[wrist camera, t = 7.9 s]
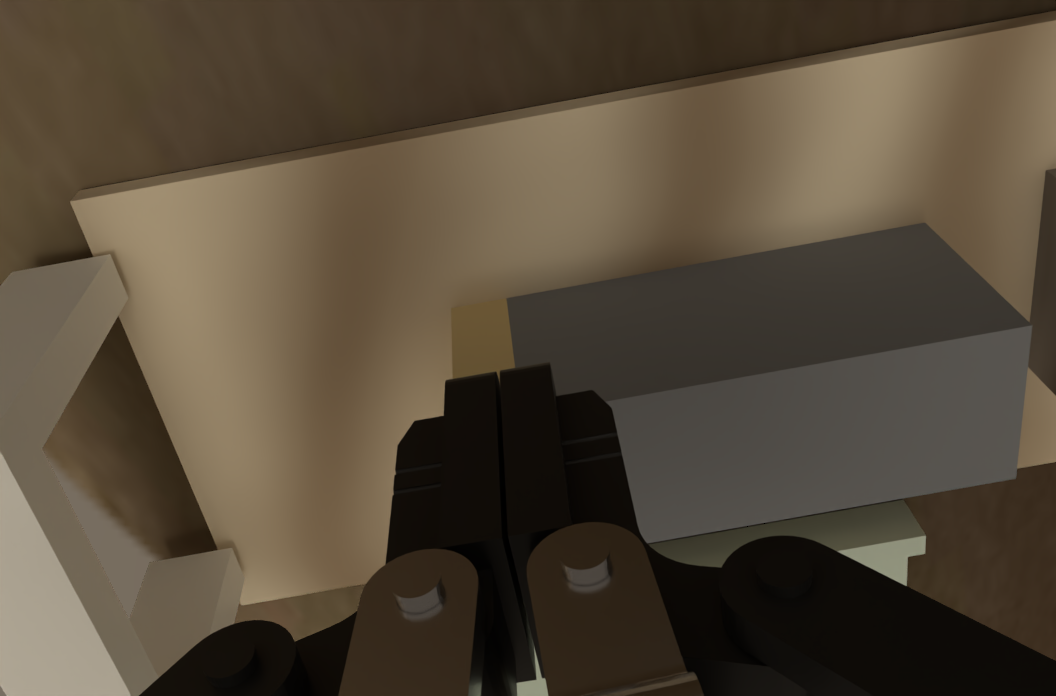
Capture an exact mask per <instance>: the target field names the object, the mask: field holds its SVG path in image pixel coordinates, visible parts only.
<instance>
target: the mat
mask: <svg viewBox="0 0 1056 696" xmlns="http://www.w3.org/2000/svg"><path fill="white" fill-rule="evenodd" d="M780 535H784V536H797V537H803V538H807V539H811V540H814V541H816V542H819V543H821V544H823V545H825V546H827V547H829V548H831V549H833V550H835V551H837V552H839V553H841V554H843V555H845V556H847V557H849V558H851V559H853V560H855V561H857V562H859V563H861V564H863V565H865V566H867V567H869V568H871V569H873V570H875V571H877V572H879V573H881V574H883V575H885V576H887V577H889V578H891V579H893V580H895V581H897V582H899V583H901V584H903V585H905V586H907V563H908V557H909V556H915V555H921V554H925V544H926V535H925V533H924V532H923V530H922V528H921V527H920V525H919V524H918V522H917V520H916V519H915V517H914V516H913V514H912V512H911V511H910V509H909V508H908V506H907V504H906V503H905V501H904V500H898V501H892V502H887V503H881V504H875V505H870V506H864V507H858V508H853V509H847V510H841V511H836V512H830V513H824V514H819V515H813V516H807V517H802V518H796V519H790V520H785V521H779V522H773V523H768V524H762V525H756V526H751V527H745V528H739V529H734V530H728V531H722V532H717V533H711V534H705V535H699V536H694V537H688V538H682V539H677V540H671V541H665V542H660V543H654V544H648V545H649V546H650V547H651V548H653V549H654V550H655V551H657V552H658V553H660V554H661V555H663V556H665V557H667V558H669V559H672V560H675V561H677V562H681V563H685V564H690V565H697V566H708V567H721V568H722V565H723V564H724V562H725V561H726V559H727V558H728V557H729V556H730V555H731V554H732V553H733V552H734V551H735V550H736V549H738V548H739V547H741V546H742V545H744V544H746V543H748V542H751V541H754V540H757V539H759V538H764V537H769V536H780ZM534 651H535V647H534ZM535 664H536V678H537V680H532V681H526V682H520V683H517V696H548V691H547V685H546V680H545V678H542V677H541V672H540V668H539V664H538V660H537V656H536V652H535Z"/></svg>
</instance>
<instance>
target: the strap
mask: <svg viewBox="0 0 1056 696" xmlns="http://www.w3.org/2000/svg"><path fill="white" fill-rule="evenodd" d="M127 300H128V296H127V293H126V291H125V288H124V286H123V284H122V281H121V279H120V276H119V274H118V272H117V269H116V267H115V264H114V262H113V260H112V257H111V255H110V254H108V255H103V256H97V257H92V258H86V259H81V260H75V261H70V262H64V263H59V264H53V265H48V266H42V267H37V268H32V269H26V270H21V271H15V272H11V274H10V275H9V276H8V277H7V278H6V280H5V281H4V282H3V283H2V285H1V286H0V686H1V688H2V689H3V691H4V692H5V694H6V696H139V695H140V694H141V693H142V692H143V691H144V690H146V689H147V688H148V687H149V686H150V685H151V684H152V683H153V682H155V681H156V680H157V679H158V678H159V677H160V676H161V675H162V674H164V673H165V672H166V671H167V670H168V669H169V668H170V667H171V666H173V665H174V664H175V663H176V662H177V661H178V660H179V659H180V658H182V657H183V656H184V655H185V654H186V653H187V652H188V651H189V650H191V649H192V648H193V647H194V646H195V645H196V644H198V643H199V642H200V641H201V640H203V639H204V638H206V637H207V636H209V635H210V634H212V633H214V632H216V631H218V630H220V629H222V628H224V627H227V626H230V625H232V624H234V622H235V618H236V614H237V610H238V605H239V601H240V597H241V593H242V588H243V584H244V580H245V578H244V575H243V573H242V571H241V568H240V566H239V563H238V561H237V558H236V556H235V554H234V551H233V549H232V548H228V549H222V550H217V551H211V552H205V553H200V554H194V555H188V556H183V557H177V558H171V559H166V560H160V561H155V562H150V563H149V566H148V568H147V571H146V574H145V577H144V579H143V582H142V585H141V588H140V591H139V594H138V596H137V599H136V602H135V605H134V607H133V610H132V613H131V616H130V618H128V616H127V614H126V613H125V611H124V609H123V607H122V605H121V603H120V601H119V599H118V597H117V595H116V593H115V591H114V589H113V587H112V585H111V583H110V582H109V579H108V577H107V575H106V573H105V571H104V569H103V567H102V565H101V563H100V561H99V559H98V557H97V556H96V554H95V552H94V550H93V548H92V546H91V544H90V542H89V540H88V538H87V536H86V534H85V532H84V530H83V528H82V526H81V524H80V522H79V520H78V518H77V516H76V514H75V512H74V510H73V508H72V506H71V504H70V502H69V500H68V499H67V497H66V495H65V493H64V491H63V489H62V487H61V485H60V483H59V481H58V479H57V477H56V475H55V473H54V471H53V469H52V467H51V465H50V463H49V461H48V459H47V457H46V455H45V453H44V451H43V449H42V448H43V446H44V444H45V443H46V441H47V439H48V438H49V436H50V434H51V432H52V431H53V429H54V427H55V425H56V424H57V422H58V420H59V418H60V417H61V415H62V413H63V411H64V410H65V408H66V406H67V404H68V403H69V401H70V399H71V397H72V396H73V394H74V392H75V390H76V389H77V387H78V385H79V383H80V382H81V380H82V378H83V376H84V375H85V373H86V371H87V370H88V368H89V366H90V364H91V363H92V361H93V359H94V357H95V356H96V354H97V352H98V350H99V349H100V347H101V345H102V343H103V342H104V340H105V338H106V336H107V335H108V333H109V331H110V329H111V328H112V326H113V324H114V322H115V321H116V319H117V317H118V315H119V314H120V312H121V310H122V308H123V307H124V305H125V303H126V302H127Z"/></svg>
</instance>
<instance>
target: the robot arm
mask: <svg viewBox="0 0 1056 696" xmlns="http://www.w3.org/2000/svg"><path fill="white" fill-rule="evenodd" d="M395 472H396V475H394V485H393V493H394V495H392V505H391V515H390V524H389V534H388V544H387V554H386V563H385V565H384V566H383V567H381V568H380V569H379V570H378V571H377V572H376V573H375V574H374V575H373V576H372V577H371V578H370V579H369V581H368V582H367V584H366V585H365V587H364V589H363V592H362V595H361V598H360V602H359V607H358V611H356V612H355V613H354V614H353V615H351V616H350V617H348V618H346V619H345V620H343V621H341V622H339V623H337V624H335V625H333V626H331V627H329V628H326V629H324V630H322V631H319V632H317V633H315V634H312V635H310V636H308V637H305V638H303V639H300V640H298V641H296V642H294V639H293V638H292V636H291V634H290V633H289V632H288V631H287V630H286V629H285V628H284V627H282V626H281V625H279V624H276V623H273V622H269V621H263V620H252V621H244V622H240V623H236V624H232V625H230V626H227V627H224V628H222V629H220V630H218V631H216V632H214V633H212V634H210V635H209V636H207V637H206V638H204V639H203V640H201V641H200V642H199V643H198V644H196V645H195V646H194V647H193V648H192V649H191V650H189V651H188V652H187V653H186V654H185V655H184V656H183V657H182V658H180V659H179V660H178V661H177V662H176V663H175V664H174V665H173V666H171V667H170V668H169V669H168V670H167V671H166V672H165V673H164V674H162V675H161V676H160V677H159V678H158V679H157V680H156V681H155V682H153V683H152V684H151V685H150V686H149V687H148V688H147V689H146V690H144V691H143V692H142V693H141V694H140V695H139V696H517V683H520V682H526V681H532V680H537V678H536V664H535V652H536V656H537V660H538V664H539V668H540V672H541V677H542V678H545V680H546V685H547V691H548V696H1056V661H1055V660H1053V659H1051V658H1049V657H1047V656H1045V655H1043V654H1041V653H1039V652H1037V651H1035V650H1033V649H1031V648H1029V647H1027V646H1025V645H1023V644H1021V643H1019V642H1017V641H1015V640H1013V639H1011V638H1009V637H1007V636H1005V635H1003V634H1001V633H999V632H997V631H995V630H993V629H991V628H989V627H987V626H985V625H983V624H981V623H979V622H977V621H975V620H973V619H971V618H969V617H967V616H965V615H963V614H961V613H959V612H957V611H955V610H953V609H951V608H949V607H947V606H945V605H943V604H941V603H939V602H937V601H935V600H933V599H931V598H929V597H927V596H925V595H923V594H921V593H919V592H917V591H915V590H913V589H911V588H909V587H907V586H905V585H903V584H901V583H899V582H897V581H895V580H893V579H891V578H889V577H887V576H885V575H883V574H881V573H879V572H877V571H875V570H873V569H871V568H869V567H867V566H865V565H863V564H861V563H859V562H857V561H855V560H853V559H851V558H849V557H847V556H845V555H843V554H841V553H839V552H837V551H835V550H833V549H831V548H829V547H827V546H825V545H823V544H821V543H819V542H816V541H814V540H811V539H807V538H803V537H797V536H784V535H780V536H769V537H764V538H759V539H757V540H754V541H751V542H748V543H746V544H744V545H742V546H741V547H739V548H738V549H736V550H735V551H734V552H733V553H732V554H731V555H730V556H729V557H728V558H727V559H726V561H725V562H724V564H723V565H722V568H721V567H708V566H697V565H690V564H685V563H681V562H677V561H675V560H672V559H669V558H667V557H665V556H663V555H661V554H660V553H658V552H657V551H655V550H654V549H653V548H651V547H650V546H649V545H648V544H647V542H646V541H645V540H644V539H643V537H642V535H641V534H640V531H639V528H638V524H637V520H636V515H635V511H634V506H633V502H632V497H631V493H630V488H629V483H628V479H627V474H626V470H625V465H624V461H623V456H622V452H621V447H620V443H619V438H618V434H617V429H616V424H615V420H614V415H613V411H612V408H611V407H610V406H609V405H608V404H607V403H606V402H605V401H604V400H603V399H602V398H601V397H600V396H599V395H598V394H596V393H595V392H594V391H593V390H588V391H582V392H577V393H571V394H565V395H559V396H557V395H556V389H555V384H554V379H553V374H552V369H551V364H550V362H545V363H539V364H534V365H528V366H522V367H516V368H511V369H505V370H500V382H499V378H498V375H497V372H496V371H495V372H489V373H483V374H477V375H472V376H466V377H460V378H454V379H449V380H446V381H445V393H444V416H439V417H433V418H427V419H422V420H416V421H414V422H413V424H412V425H411V426H410V428H409V429H408V431H407V432H406V434H405V435H404V437H403V438H402V439H401V441H400V442H399V444H398V446H397V456H396V466H395ZM534 647H535V651H534Z"/></svg>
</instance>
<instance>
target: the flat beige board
mask: <svg viewBox="0 0 1056 696" xmlns="http://www.w3.org/2000/svg"><path fill="white" fill-rule="evenodd" d="M70 203H71V205H72V208H73V210H74V212H75V215H76V217H77V219H78V222H79V224H80V226H81V229H82V231H83V233H84V236H85V238H86V241H87V243H88V245H89V248H90V250H91V252H92V255H93V257H97V256H103V255H108V254H110V255H111V257H112V260H113V262H114V264H115V267H116V269H117V272H118V274H119V276H120V279H121V281H122V284H123V286H124V288H125V291H126V293H127V296H128V300H127V302H126V303H125V305H124V307H123V308H122V310H121V312H120V314H119V315H118V316H119V318H120V321H121V323H122V325H123V328H124V330H125V332H126V335H127V337H128V339H129V342H130V344H131V346H132V349H133V351H134V353H135V356H136V358H137V361H138V363H139V365H140V368H141V370H142V372H143V375H144V377H145V379H146V382H147V384H148V386H149V389H150V391H151V393H152V396H153V398H154V401H155V403H156V405H157V408H158V410H159V412H160V415H161V417H162V419H163V422H164V424H165V426H166V429H167V431H168V434H169V436H170V438H171V441H172V443H173V445H174V448H175V450H176V452H177V455H178V457H179V459H180V462H181V464H182V466H183V469H184V471H185V474H186V476H187V478H188V481H189V483H190V485H191V488H192V490H193V492H194V495H195V497H196V499H197V502H198V504H199V506H200V509H201V511H202V514H203V516H204V518H205V521H206V523H207V525H208V528H209V530H210V532H211V535H212V537H213V539H214V542H215V544H216V546H217V549H218V550H222V549H228V548H232V549H233V551H234V554H235V556H236V558H237V561H238V563H239V566H240V568H241V571H242V573H243V575H244V578H245V580H244V584H243V588H242V593H241V597H240V603H241V605H247V604H253V603H259V602H264V601H270V600H276V599H281V598H287V597H293V596H298V595H304V594H310V593H315V592H321V591H327V590H332V589H338V588H344V587H349V586H355V585H361V584H366V583H367V582H368V581H369V579H370V578H371V577H372V576H373V575H374V574H375V573H376V572H377V571H378V570H379V569H380V568H381V567H383V566H384V565H385V563H386V554H387V544H388V534H389V524H390V515H391V505H392V495H394V493H393V485H394V475H396V472H395V466H396V456H397V446H398V444H399V442H400V441H401V439H402V438H403V437H404V435H405V434H406V432H407V431H408V429H409V428H410V426H411V425H412V424H413V422H414V421H416V420H422V419H427V418H433V417H439V416H444V393H445V381H446V380H449V379H453V374H452V328H451V308H455V307H461V306H466V305H472V304H477V303H483V302H488V301H494V300H499V299H505V298H510V297H516V296H522V295H527V294H533V293H538V292H544V291H549V290H555V289H560V288H566V287H571V286H577V285H582V284H588V283H593V282H599V281H604V280H610V279H615V278H621V277H627V276H632V275H638V274H643V273H649V272H654V271H660V270H665V269H671V268H676V267H682V266H687V265H693V264H698V263H704V262H709V261H715V260H721V259H726V258H732V257H737V256H743V255H748V254H754V253H759V252H765V251H770V250H776V249H781V248H787V247H792V246H798V245H803V244H809V243H814V242H820V241H826V240H831V239H837V238H842V237H848V236H853V235H859V234H864V233H870V232H875V231H881V230H886V229H892V228H897V227H903V226H908V225H914V224H920V223H926V224H927V225H928V226H929V227H930V228H931V229H932V230H933V231H934V232H935V233H937V234H938V235H939V236H940V237H941V238H942V239H943V240H944V241H945V242H946V243H947V244H948V245H949V246H950V247H951V248H952V249H953V250H954V251H955V252H956V253H957V254H958V255H960V256H961V257H962V258H963V259H964V260H965V261H966V262H967V263H968V264H969V265H970V266H971V267H972V268H973V269H974V270H975V271H976V272H977V273H978V274H979V275H980V276H981V277H982V278H984V279H985V280H986V281H987V282H988V283H989V284H990V285H991V286H992V287H993V288H994V289H995V290H996V291H997V292H998V293H999V294H1000V295H1001V296H1002V297H1003V298H1004V299H1005V300H1006V301H1008V302H1009V303H1010V304H1011V305H1012V306H1013V307H1014V308H1015V309H1016V310H1017V311H1018V312H1019V313H1020V314H1021V315H1022V316H1023V317H1024V318H1025V319H1026V320H1027V321H1028V322H1029V323H1030V324H1032V334H1031V343H1030V352H1029V362H1028V371H1027V380H1026V390H1025V399H1024V408H1023V418H1022V427H1021V436H1020V446H1019V455H1018V464H1017V469H1018V468H1024V467H1029V466H1035V465H1041V464H1046V463H1052V462H1056V11H1051V12H1045V13H1040V14H1034V15H1029V16H1023V17H1018V18H1013V19H1007V20H1002V21H996V22H991V23H985V24H980V25H975V26H969V27H964V28H958V29H953V30H947V31H942V32H937V33H931V34H926V35H920V36H915V37H909V38H904V39H899V40H893V41H888V42H882V43H877V44H871V45H866V46H861V47H855V48H850V49H844V50H839V51H833V52H828V53H822V54H817V55H812V56H806V57H801V58H795V59H790V60H784V61H779V62H774V63H768V64H763V65H757V66H752V67H746V68H741V69H736V70H730V71H725V72H719V73H714V74H708V75H703V76H698V77H692V78H687V79H681V80H676V81H670V82H665V83H659V84H654V85H649V86H643V87H638V88H632V89H627V90H621V91H616V92H611V93H605V94H600V95H594V96H589V97H583V98H578V99H573V100H567V101H562V102H556V103H551V104H545V105H540V106H535V107H529V108H524V109H518V110H513V111H507V112H502V113H497V114H491V115H486V116H480V117H475V118H469V119H464V120H458V121H453V122H448V123H442V124H437V125H431V126H426V127H420V128H415V129H410V130H404V131H399V132H393V133H388V134H382V135H377V136H372V137H366V138H361V139H355V140H350V141H344V142H339V143H334V144H328V145H323V146H317V147H312V148H306V149H301V150H296V151H290V152H285V153H279V154H274V155H268V156H263V157H257V158H252V159H247V160H241V161H236V162H230V163H225V164H219V165H214V166H209V167H203V168H198V169H192V170H187V171H181V172H176V173H171V174H165V175H160V176H154V177H149V178H143V179H138V180H133V181H127V182H122V183H116V184H111V185H105V186H100V187H95V188H89V189H84V190H79V191H78V193H77V194H76V195H75V196H74V197H73V199H72V200H71V201H70Z"/></svg>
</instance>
